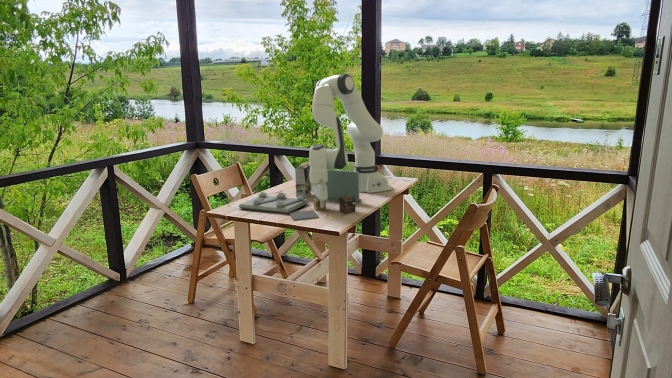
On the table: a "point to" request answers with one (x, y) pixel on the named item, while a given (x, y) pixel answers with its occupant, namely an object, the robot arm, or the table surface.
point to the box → (347, 204)
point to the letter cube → (319, 205)
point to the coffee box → (303, 181)
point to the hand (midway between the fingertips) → (319, 205)
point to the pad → (303, 215)
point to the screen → (342, 184)
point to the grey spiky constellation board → (274, 203)
